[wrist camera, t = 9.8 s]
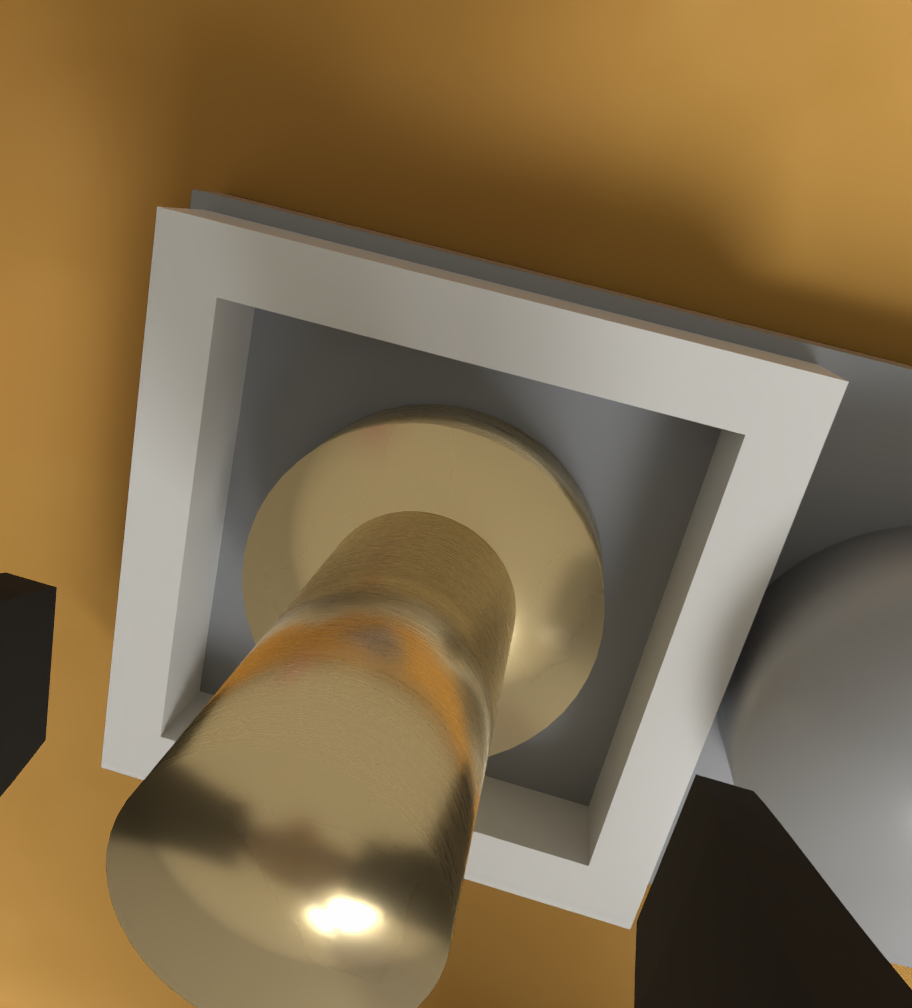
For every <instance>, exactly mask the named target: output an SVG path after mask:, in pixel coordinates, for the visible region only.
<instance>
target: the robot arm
mask: <svg viewBox="0 0 912 1008" xmlns="http://www.w3.org/2000/svg"><path fill="white" fill-rule="evenodd" d="M56 588H57V587H53V586H50V585H46V584H43V583H40V582H36V581H33V580H29V579H26V578H23V577H19V576H16V575H12V574H9V573H0V796H1V795H2V794H3V793H4V792H5V790H6V789H7V788H8V787H9V786H10V785H11V783H12V782H13V781H14V780H15V778H16V777H17V776H18V774H19V773H20V772H21V771H22V769H23V768H24V767H25V765H26V764H27V763H28V762H29V760H30V759H31V758H32V756H33V755H34V754H35V753H36V751H37V750H38V749H39V748H40V746H41V745H42V744H43V742H44V741H45V738H46V725H47V711H48V697H49V684H50V670H51V656H52V643H53V629H54V615H55V602H56ZM634 1008H912V990H911V988H910V987H909V986H908V985H907V984H906V982H905V981H904V980H903V979H902V978H901V976H900V975H899V974H898V973H897V971H896V970H895V969H894V968H893V967H892V965H891V964H890V963H889V962H888V960H887V959H886V958H885V957H884V955H883V954H882V953H881V952H880V950H879V949H878V948H877V947H876V945H875V944H874V943H873V942H872V940H871V939H870V938H869V937H868V935H867V934H866V933H865V932H864V930H863V929H862V928H861V927H860V925H859V924H858V923H857V921H856V920H855V919H854V918H853V916H852V915H851V914H850V912H849V911H848V910H847V909H846V907H845V906H844V905H843V904H842V902H841V901H840V900H839V898H838V897H837V896H836V895H835V893H834V892H833V891H832V889H831V888H830V887H829V885H828V884H827V883H826V882H825V880H824V879H823V878H822V876H821V875H820V874H819V872H818V871H817V870H816V869H815V867H814V866H813V865H812V863H811V862H810V861H809V859H808V858H807V857H806V856H805V854H804V853H803V852H802V850H801V849H800V848H799V846H798V845H797V844H796V843H795V841H794V840H793V839H792V837H791V836H790V835H789V833H788V832H787V831H786V830H785V828H784V827H783V826H782V824H781V823H780V822H779V821H778V819H777V818H776V817H775V816H774V814H773V813H772V812H771V811H770V809H769V808H768V807H767V806H766V805H765V803H764V802H763V801H762V800H761V799H760V798H759V796H758V795H757V794H756V793H755V792H754V791H752V790H748V789H745V788H741V787H738V786H735V785H731V784H728V783H724V782H721V781H717V780H714V779H711V778H707V777H704V776H700V775H697V774H696V775H695V778H694V780H693V783H692V785H691V788H690V790H689V793H688V795H687V798H686V800H685V803H684V805H683V808H682V810H681V813H680V815H679V818H678V820H677V823H676V825H675V828H674V830H673V833H672V835H671V838H670V840H669V843H668V845H667V848H666V850H665V853H664V855H663V858H662V860H661V863H660V865H659V868H658V870H657V873H656V875H655V878H654V880H653V883H652V885H651V888H650V890H649V893H648V895H647V898H646V900H645V903H644V905H643V908H642V910H641V913H640V915H639V918H638V920H637V935H636V961H635V1003H634Z"/></svg>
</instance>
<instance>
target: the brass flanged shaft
mask: <svg viewBox="0 0 912 1008" xmlns="http://www.w3.org/2000/svg"><path fill="white" fill-rule="evenodd" d="M242 585H243V599H244V605H245V611H246V617H247V620H248V624H249V627H250V630H251V633H252V637H253V639H254V641H255V644H256V645H255V647H254V648H253V649H252V650H251V651H250V653H249V654H248V655H247V656H246V657H245V659H244V660H243V661H242V662H241V663H240V665H239V666H238V667H237V668H236V669H235V671H234V672H233V673H232V674H231V675H230V677H229V678H228V679H227V680H226V681H225V683H224V684H223V685H222V686H221V688H220V689H219V690H218V691H217V692H216V694H215V695H214V696H213V697H212V698H211V700H210V701H209V702H208V703H207V704H206V706H205V707H204V708H203V709H202V710H201V712H200V713H199V714H198V715H197V716H196V718H195V719H194V720H193V721H192V722H191V724H190V725H189V726H188V727H187V729H186V730H185V731H184V732H183V733H182V735H181V736H180V737H179V738H178V739H177V741H176V742H175V743H174V744H173V745H172V747H171V748H170V749H169V750H168V751H167V753H166V754H165V755H164V756H163V757H162V759H161V760H160V761H159V762H158V763H157V765H156V766H155V767H154V768H153V770H152V771H151V772H150V773H149V774H148V776H147V777H146V778H145V779H144V780H143V782H142V783H141V784H140V785H139V786H138V788H137V789H136V790H135V791H134V792H133V794H132V795H131V796H130V797H129V798H128V800H127V801H126V803H125V804H124V806H123V807H122V809H121V811H120V812H119V814H118V816H117V818H116V820H115V823H114V826H113V828H112V831H111V833H110V838H109V843H108V848H107V860H106V872H107V882H108V889H109V893H110V897H111V901H112V905H113V907H114V910H115V912H116V915H117V917H118V920H119V923H120V925H121V927H122V928H123V930H124V932H125V934H126V936H127V937H128V939H129V941H130V943H131V944H132V945H133V947H134V948H135V950H136V951H137V953H138V954H139V955H140V957H141V958H142V959H143V961H144V962H145V963H146V964H147V965H148V966H149V967H150V969H151V970H152V971H153V972H154V973H155V974H156V975H157V976H158V977H159V978H160V979H161V980H162V981H163V982H164V983H166V984H167V985H168V986H169V987H170V988H171V989H172V990H173V991H175V992H176V993H177V994H179V995H180V996H181V997H183V998H184V999H185V1000H187V1001H188V1002H189V1003H191V1004H193V1005H194V1006H196V1007H197V1008H417V1007H418V1006H419V1005H420V1004H421V1003H422V1002H423V1001H424V1000H425V999H426V997H427V996H428V995H429V994H430V993H431V991H432V990H433V988H434V986H435V985H436V983H437V982H438V980H439V979H440V976H441V974H442V972H443V969H444V967H445V964H446V962H447V958H448V953H449V949H450V945H451V940H452V935H453V930H454V925H455V920H456V915H457V910H458V905H459V900H460V895H461V890H462V885H463V880H464V875H465V870H466V865H467V860H468V855H469V850H470V845H471V840H472V835H473V830H474V825H475V820H476V815H477V810H478V805H479V800H480V795H481V790H482V785H483V780H484V775H485V770H486V765H487V760H488V757H489V756H492V755H495V754H497V753H500V752H503V751H506V750H509V749H511V748H513V747H515V746H517V745H519V744H521V743H523V742H525V741H527V740H529V739H530V738H532V737H533V736H535V735H536V734H538V733H539V732H541V731H542V730H544V729H545V728H547V727H548V726H549V725H550V724H551V723H552V722H553V721H554V720H555V719H556V718H558V717H559V716H560V715H561V714H562V713H563V712H564V711H565V709H566V708H567V707H568V706H569V705H570V704H571V702H572V701H573V700H574V699H575V698H576V696H577V695H578V693H579V691H580V690H581V688H582V687H583V685H584V683H585V682H586V680H587V678H588V676H589V674H590V672H591V669H592V667H593V665H594V662H595V660H596V658H597V654H598V650H599V646H600V643H601V639H602V633H603V624H604V615H605V610H604V580H603V553H602V548H601V542H600V536H599V532H598V529H597V526H596V523H595V519H594V516H593V513H592V511H591V509H590V507H589V505H588V503H587V501H586V499H585V497H584V494H583V492H582V491H581V489H580V488H579V486H578V485H577V483H576V482H575V480H574V479H573V477H572V476H571V474H570V473H569V472H568V471H567V470H566V469H565V467H564V466H563V465H562V464H561V463H560V462H559V461H558V459H557V458H556V457H555V456H554V455H553V454H552V453H550V452H549V451H548V450H547V449H546V448H545V447H544V446H542V445H541V444H540V443H539V442H538V441H536V440H535V439H533V438H532V437H530V436H529V435H528V434H526V433H525V432H523V431H522V430H520V429H519V428H517V427H515V426H513V425H511V424H509V423H507V422H505V421H503V420H501V419H499V418H496V417H493V416H490V415H487V414H485V413H482V412H479V411H476V410H471V409H466V408H462V407H457V406H450V405H437V404H422V405H407V406H402V407H396V408H391V409H386V410H383V411H380V412H377V413H374V414H371V415H368V416H365V417H363V418H361V419H359V420H357V421H355V422H353V423H351V424H349V425H347V426H346V427H344V428H343V429H341V430H340V431H339V432H337V433H336V434H334V435H333V436H331V437H330V438H328V439H327V440H326V441H325V442H323V443H322V444H321V445H319V446H318V447H317V448H315V449H314V450H313V451H311V452H310V453H309V454H307V455H306V456H305V457H303V458H302V459H301V460H299V461H298V462H297V463H296V464H295V465H294V466H293V467H292V468H291V469H290V470H288V471H287V472H286V473H285V474H284V475H283V476H282V477H281V479H280V480H279V481H278V482H277V484H276V485H275V486H274V487H273V488H272V490H271V491H270V492H269V493H268V495H267V497H266V499H265V500H264V502H263V504H262V505H261V507H260V509H259V511H258V512H257V515H256V517H255V520H254V522H253V525H252V527H251V530H250V532H249V536H248V540H247V544H246V548H245V552H244V561H243V571H242Z"/></svg>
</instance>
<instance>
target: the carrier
mask: <svg viewBox="0 0 912 1008" xmlns="http://www.w3.org/2000/svg"><path fill="white" fill-rule="evenodd" d="M422 404H437V405H450V406H457V407H462V408H466V409H471V410H476V411H479V412H482V413H485V414H487V415H490V416H493V417H496V418H499V419H501V420H503V421H505V422H507V423H509V424H511V425H513V426H515V427H517V428H519V429H520V430H522V431H523V432H525V433H526V434H528V435H529V436H530V437H532V438H533V439H535V440H536V441H538V442H539V443H540V444H541V445H542V446H544V447H545V448H546V449H547V450H548V451H549V452H550V453H552V454H553V455H554V456H555V457H556V458H557V459H558V461H559V462H560V463H561V464H562V465H563V466H564V467H565V469H566V470H567V471H568V472H569V473H570V474H571V476H572V477H573V479H574V480H575V482H576V483H577V485H578V486H579V488H580V489H581V491H582V492H583V494H584V497H585V499H586V501H587V503H588V505H589V507H590V509H591V511H592V513H593V516H594V519H595V523H596V526H597V529H598V532H599V536H600V542H601V548H602V553H603V580H604V610H605V615H604V624H603V633H602V639H601V643H600V646H599V650H598V654H597V658H596V660H595V662H594V665H593V667H592V669H591V672H590V674H589V676H588V678H587V680H586V682H585V683H584V685H583V687H582V688H581V690H580V691H579V693H578V695H577V696H576V698H575V699H574V700H573V701H572V702H571V704H570V705H569V706H568V707H567V708H566V709H565V711H564V712H563V713H562V714H561V715H560V716H559V717H558V718H556V719H555V720H554V721H553V722H552V723H551V724H550V725H549V726H548V727H547V728H545V729H544V730H542V731H541V732H539V733H538V734H536V735H535V736H533V737H532V738H530V739H529V740H527V741H525V742H523V743H521V744H519V745H517V746H515V747H513V748H511V749H509V750H506V751H503V752H500V753H497V754H495V755H492V756H489V757H488V760H487V765H486V770H485V775H484V780H483V785H482V790H481V795H480V800H479V805H478V810H477V815H476V820H475V825H474V830H473V835H472V840H471V845H470V850H469V855H468V860H467V865H466V870H465V875H464V879H467V880H470V881H473V882H477V883H480V884H483V885H486V886H490V887H493V888H496V889H499V890H503V891H506V892H509V893H513V894H516V895H519V896H522V897H526V898H529V899H532V900H535V901H539V902H542V903H545V904H548V905H552V906H555V907H558V908H561V909H565V910H568V911H571V912H575V913H578V914H581V915H584V916H588V917H591V918H594V919H597V920H601V921H604V922H607V923H610V924H614V925H617V926H620V927H623V928H627V929H631V926H632V923H633V921H634V918H635V916H636V913H637V911H638V908H639V906H640V903H641V901H642V898H643V896H644V893H645V891H646V888H647V886H648V883H649V884H652V883H653V880H654V878H655V875H656V873H657V870H658V868H659V865H660V863H661V860H662V858H663V855H664V853H665V850H666V848H667V845H668V843H669V840H670V838H671V835H672V833H673V830H674V828H675V825H676V823H677V820H678V818H679V815H680V813H681V810H682V808H683V805H684V803H685V800H686V798H687V795H688V793H689V790H690V788H691V785H692V783H693V780H694V778H695V775H696V774H697V775H700V776H704V777H707V778H711V779H714V780H717V781H721V782H724V783H728V784H731V785H735V786H738V787H741V788H745V789H748V790H752V791H754V792H755V793H756V794H757V795H758V796H759V798H760V799H761V800H762V801H763V802H764V803H765V805H766V806H767V807H768V808H769V809H770V811H771V812H772V813H773V814H774V816H775V817H776V818H777V819H778V821H779V822H780V823H781V824H782V826H783V827H784V828H785V830H786V831H787V832H788V833H789V835H790V836H791V837H792V839H793V840H794V841H795V843H796V844H797V845H798V846H799V848H800V849H801V850H802V852H803V853H804V854H805V856H806V857H807V858H808V859H809V861H810V862H811V863H812V865H813V866H814V867H815V869H816V870H817V871H818V872H819V874H820V875H821V876H822V878H823V879H824V880H825V882H826V883H827V884H828V885H829V887H830V888H831V889H832V891H833V892H834V893H835V895H836V896H837V897H838V898H839V900H840V901H841V902H842V904H843V905H844V906H845V907H846V909H847V910H848V911H849V912H850V914H851V915H852V916H853V918H854V919H855V920H856V921H857V923H858V924H859V925H860V927H861V928H862V929H863V930H864V932H865V933H866V934H867V935H868V937H869V938H870V939H871V940H872V942H873V943H874V944H875V945H876V947H877V948H878V949H879V950H880V952H881V953H882V954H883V955H884V957H885V958H886V959H887V960H888V962H890V963H894V964H898V965H902V966H906V967H910V968H912V366H911V365H907V364H903V363H899V362H895V361H891V360H887V359H883V358H879V357H875V356H871V355H867V354H863V353H859V352H855V351H851V350H847V349H843V348H839V347H835V346H831V345H827V344H823V343H819V342H815V341H811V340H807V339H803V338H799V337H795V336H791V335H787V334H783V333H779V332H775V331H771V330H767V329H763V328H759V327H755V326H751V325H747V324H743V323H739V322H735V321H731V320H727V319H723V318H719V317H715V316H711V315H707V314H703V313H699V312H695V311H691V310H687V309H683V308H679V307H675V306H671V305H667V304H663V303H659V302H655V301H651V300H647V299H643V298H639V297H636V296H632V295H628V294H624V293H620V292H616V291H612V290H608V289H604V288H600V287H596V286H592V285H588V284H584V283H580V282H576V281H572V280H568V279H564V278H560V277H556V276H552V275H548V274H544V273H540V272H536V271H532V270H528V269H524V268H520V267H516V266H512V265H508V264H504V263H500V262H496V261H492V260H488V259H484V258H480V257H476V256H472V255H468V254H464V253H460V252H456V251H452V250H448V249H444V248H440V247H436V246H432V245H428V244H424V243H420V242H416V241H412V240H408V239H404V238H400V237H396V236H392V235H388V234H384V233H380V232H376V231H372V230H368V229H364V228H360V227H356V226H352V225H348V224H344V223H340V222H336V221H332V220H328V219H324V218H320V217H316V216H312V215H308V214H304V213H300V212H296V211H292V210H288V209H284V208H280V207H276V206H272V205H268V204H264V203H260V202H256V201H252V200H248V199H244V198H240V197H236V196H232V195H229V194H225V193H221V192H213V191H205V190H196V189H192V194H191V203H190V209H187V208H172V207H158V206H157V214H156V224H155V234H154V244H153V254H152V264H151V274H150V284H149V294H148V304H147V314H146V324H145V334H144V344H143V354H142V364H141V374H140V384H139V394H138V404H137V414H136V424H135V434H134V444H133V454H132V464H131V474H130V483H129V493H128V503H127V513H126V523H125V533H124V543H123V553H122V563H121V573H120V583H119V593H118V603H117V613H116V623H115V633H114V643H113V653H112V663H111V673H110V683H109V693H108V703H107V713H106V723H105V733H104V743H103V753H102V763H101V767H102V768H105V769H108V770H111V771H115V772H118V773H121V774H124V775H128V776H131V777H134V778H137V779H141V780H144V779H145V778H146V777H147V776H148V774H149V773H150V772H151V771H152V770H153V768H154V767H155V766H156V765H157V763H158V762H159V761H160V760H161V759H162V757H163V756H164V755H165V754H166V753H167V751H168V750H169V749H170V748H171V747H172V745H173V744H174V743H175V742H176V741H177V739H178V738H179V737H180V736H181V735H182V733H183V732H184V731H185V730H186V729H187V727H188V726H189V725H190V724H191V722H192V721H193V720H194V719H195V718H196V716H197V715H198V714H199V713H200V712H201V710H202V709H203V708H204V707H205V706H206V704H207V703H208V702H209V701H210V700H211V698H212V697H213V696H214V695H215V694H216V692H217V691H218V690H219V689H220V688H221V686H222V685H223V684H224V683H225V681H226V680H227V679H228V678H229V677H230V675H231V674H232V673H233V672H234V671H235V669H236V668H237V667H238V666H239V665H240V663H241V662H242V661H243V660H244V659H245V657H246V656H247V655H248V654H249V653H250V651H251V650H252V649H253V648H254V647H255V645H256V644H255V641H254V639H253V637H252V633H251V630H250V627H249V624H248V620H247V617H246V611H245V605H244V599H243V585H242V571H243V561H244V552H245V548H246V544H247V540H248V536H249V532H250V530H251V527H252V525H253V522H254V520H255V517H256V515H257V512H258V511H259V509H260V507H261V505H262V504H263V502H264V500H265V499H266V497H267V495H268V493H269V492H270V491H271V490H272V488H273V487H274V486H275V485H276V484H277V482H278V481H279V480H280V479H281V477H282V476H283V475H284V474H285V473H286V472H287V471H288V470H290V469H291V468H292V467H293V466H294V465H295V464H296V463H297V462H298V461H299V460H301V459H302V458H303V457H305V456H306V455H307V454H309V453H310V452H311V451H313V450H314V449H315V448H317V447H318V446H319V445H321V444H322V443H323V442H325V441H326V440H327V439H328V438H330V437H331V436H333V435H334V434H336V433H337V432H339V431H340V430H341V429H343V428H344V427H346V426H347V425H349V424H351V423H353V422H355V421H357V420H359V419H361V418H363V417H365V416H368V415H371V414H374V413H377V412H380V411H383V410H386V409H391V408H396V407H402V406H407V405H422Z"/></svg>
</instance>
